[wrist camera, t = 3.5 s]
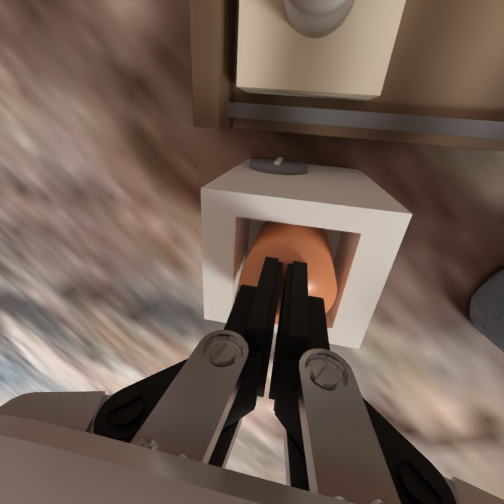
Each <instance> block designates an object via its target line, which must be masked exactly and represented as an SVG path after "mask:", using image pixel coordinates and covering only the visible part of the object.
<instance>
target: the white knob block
mask: <svg viewBox="0 0 504 504" xmlns="http://www.w3.org/2000/svg"><path fill="white" fill-rule="evenodd" d="M411 217H412V213H411V212H410V211H408V210H407V209H406V208H405V207H404V206H402V205H401V204H400V203H399V202H398V201H396V200H395V199H394V198H393V197H392V196H391V195H389V194H388V193H387V192H386V191H385V190H383V189H382V188H381V187H380V186H379V185H377V184H376V183H375V182H374V181H373V180H371V179H370V178H369V177H368V176H367V175H366V174H364V173H363V172H362V171H361V170H360V169H351V168H341V167H331V166H321V165H312V164H306V163H304V162H300V161H295V160H289V159H283V157H278V158H249V159H247V160H246V161H244V162H243V163H241V164H239V165H238V166H236V167H234V168H233V169H231V170H229V171H228V172H226V173H224V174H223V175H221V176H220V177H218V178H216V179H215V180H213V181H211V182H210V183H208V184H206V185H205V186H203V187H201V221H202V258H203V296H204V319H208V320H213V321H218V322H223V323H226V322H227V320H228V317H229V315H230V312H231V309H232V307H233V304H234V302H235V299H236V297H237V294H238V291H239V289H240V287H239V279H240V274H241V271H242V269H243V266H244V264H245V262H246V260H247V257H248V255H249V253H250V250H251V248H252V246H253V243H254V241H255V239H256V237H257V234H258V232H259V230H260V229H261V227H262V226H263V225H264V223H265V222H267V221H273V222H280V223H287V224H295V225H302V226H309V227H317V228H323V229H324V230H325V232H326V234H327V237H328V241H329V247H330V252H331V257H332V262H333V267H334V272H335V277H336V283H337V294H336V299H335V301H334V304H333V305H332V307H331V308H330V310H329V311H328V312H327V313H326V321H327V330H328V338H329V343H330V344H335V345H340V346H345V347H350V348H355V349H359V348H360V345H361V343H362V340H363V337H364V335H365V332H366V330H367V327H368V325H369V322H370V320H371V317H372V315H373V312H374V310H375V307H376V305H377V302H378V300H379V297H380V295H381V292H382V290H383V287H384V285H385V282H386V280H387V277H388V275H389V272H390V270H391V267H392V265H393V262H394V260H395V257H396V255H397V252H398V250H399V247H400V244H401V242H402V239H403V237H404V234H405V232H406V229H407V227H408V224H409V222H410V219H411ZM277 328H278V324H275V326H274V333H277Z"/></svg>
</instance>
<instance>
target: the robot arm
mask: <svg viewBox="0 0 504 504" xmlns="http://www.w3.org/2000/svg"><path fill="white" fill-rule="evenodd" d="M282 270H283V263H282V262H279V258H272V257H265V261H264V264H263V268H262V271H261V275H260V278H259V281H258V285H257V287H255V286H249V285H243V284H242V285H241V286H240V289H239V291H238V294H237V297H236V299H235V302H234V304H233V307H232V309H231V312H230V315H229V317H228V320H227V322H226V325H225V327H224V330H218V331H215V332H211V333H210V334H208V335H206V336H205V337H204V338H203V339H202V340H201V341H200V342H199V344H198V345H197V347H196V348H195V350H194V351H193V353H192V354H191V355H190V357H189V358H188V359H186V360H184V361H182V362H180V363H177V364H175V365H173V366H171V367H169V368H167V369H164V370H162V371H160V372H158V373H156V374H154V375H151V376H149V377H147V378H145V379H143V380H141V381H138V382H136V383H134V384H132V385H130V386H128V387H125V388H123V389H121V390H120V391H118V392H116V393H115V394H113V395H106V393H105V391H92V392H33V393H27V394H23V395H20V396H18V397H16V398H13V399H11V400H9V401H8V402H6V403H5V404H3V405H2V406H0V504H504V500H503V499H500V498H498V497H496V496H494V495H492V494H490V493H488V492H486V491H483V490H481V489H479V488H477V487H475V486H473V485H471V484H469V483H467V482H464V481H462V480H460V479H458V478H456V477H454V476H453V477H452V478H451V479H447V478H445V477H443V476H442V474H441V473H440V472H439V471H438V470H437V469H436V468H435V467H434V465H433V464H432V463H431V462H430V461H429V460H428V459H427V458H426V457H424V456H423V455H422V454H421V453H420V452H419V451H418V450H417V449H416V448H415V447H414V446H413V445H412V444H411V443H410V442H409V441H408V440H407V439H406V438H405V437H404V436H402V435H401V434H400V433H399V432H398V431H397V430H396V429H395V428H394V427H393V426H392V425H391V424H390V423H389V422H388V421H387V420H386V419H385V418H384V417H383V416H382V415H380V414H379V413H378V412H377V411H376V410H375V409H374V408H373V407H372V406H371V405H370V404H369V403H368V402H367V401H366V400H365V399H364V398H363V397H362V395H361V392H360V390H359V387H358V384H357V381H356V379H355V376H354V373H353V371H352V369H351V367H350V366H349V364H348V363H347V362H346V361H345V360H344V359H343V358H342V357H340V356H339V355H338V354H336V353H334V352H332V351H330V347H329V338H328V330H327V321H326V313H325V304H324V299H323V298H320V297H314V296H308V270H307V263H305V262H299V261H293V264H288V265H287V271H286V277H285V283H284V289H283V295H282V302H281V308H280V314H279V321H278V328H277V336H276V344H275V352H274V360H273V368H272V376H271V383H270V391H269V399H274V400H275V402H274V411H275V415H276V416H277V418H278V419H279V421H280V422H281V424H282V425H283V426H284V430H283V438H284V452H285V466H286V481H287V485H283V484H280V483H276V482H272V481H269V480H265V479H261V478H258V477H254V476H250V475H246V474H243V473H239V472H235V471H232V470H228V469H225V467H226V464H227V461H228V458H229V456H230V453H231V450H232V447H233V444H234V442H235V439H236V436H237V433H238V431H239V428H240V425H241V421H242V417H244V416H245V415H247V414H248V413H250V412H251V411H253V410H254V408H255V406H256V400H257V396H260V397H264V391H265V384H266V378H267V371H268V365H269V358H270V352H271V346H272V339H273V333H274V326H275V319H276V312H277V305H278V298H279V291H280V284H281V277H282Z"/></svg>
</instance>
